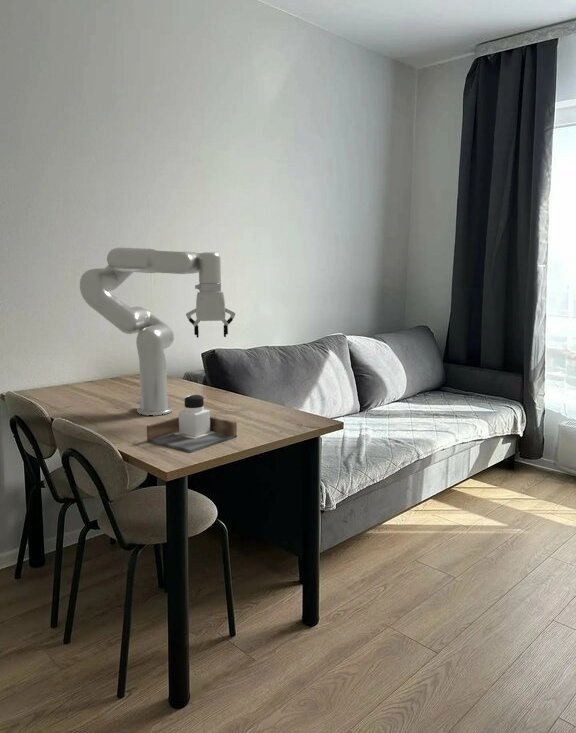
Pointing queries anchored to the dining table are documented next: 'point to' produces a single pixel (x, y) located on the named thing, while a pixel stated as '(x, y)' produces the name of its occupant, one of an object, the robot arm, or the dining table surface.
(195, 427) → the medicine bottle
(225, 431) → the tray
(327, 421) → the dining table surface
